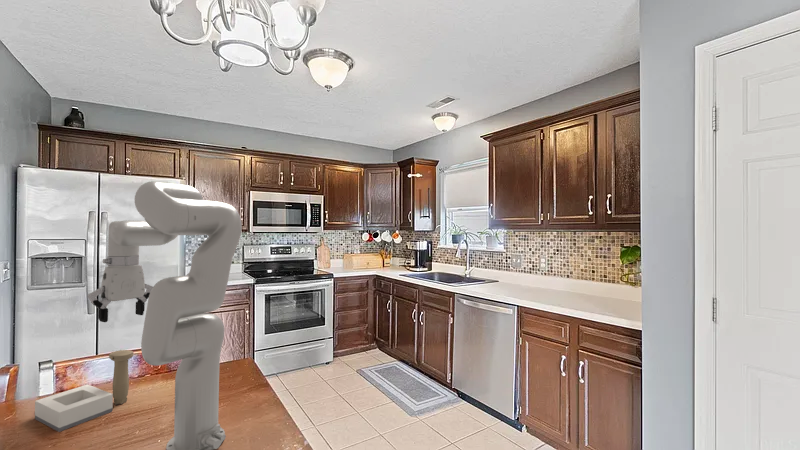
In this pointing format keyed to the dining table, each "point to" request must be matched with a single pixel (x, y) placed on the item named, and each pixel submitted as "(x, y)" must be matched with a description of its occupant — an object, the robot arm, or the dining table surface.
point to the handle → (120, 375)
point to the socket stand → (73, 407)
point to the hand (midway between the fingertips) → (122, 317)
